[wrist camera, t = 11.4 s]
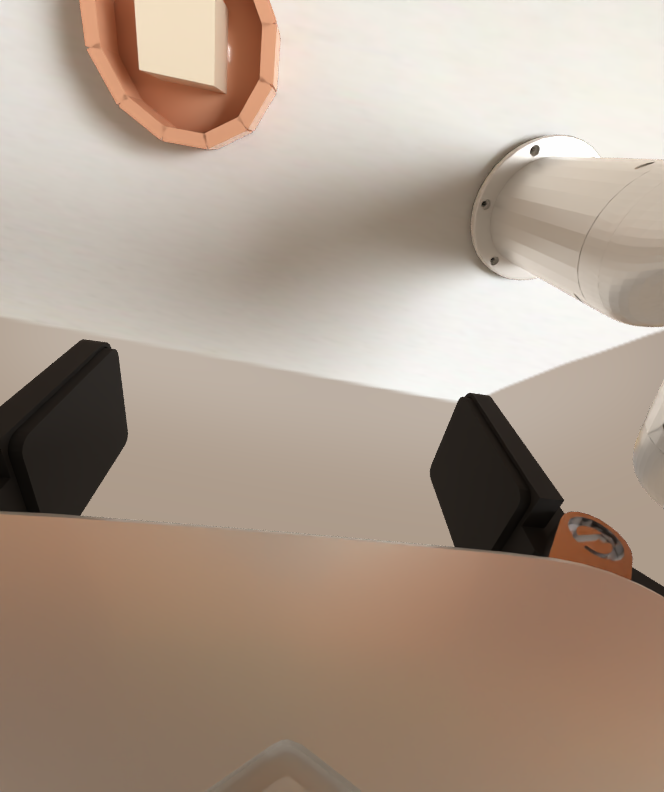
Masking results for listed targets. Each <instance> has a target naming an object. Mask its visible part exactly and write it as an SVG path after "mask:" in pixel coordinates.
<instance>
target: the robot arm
mask: <svg viewBox="0 0 664 792" xmlns="http://www.w3.org/2000/svg"><path fill="white" fill-rule="evenodd" d="M531 148H532V149H533V150H532V153H530V149H531ZM483 201H485V204H484V206H481V205H482V202H483ZM471 236H472V242H473V245H474V248H475V250H476V253H477V255H478V256H479V258H480V259H481V261H482V262H483V263H484V264H485V265H486V266H487V267H488V268H489V269H490V270H492V271H493V272H495V273H496V274H498V275H500V276H503V277H505V278H508V279H514V280H531V279H535V278H540V279H542V280H543V281H545V282H547V283H549V284H550V285H552V286H554V287H556V288H558V289H559V290H561V291H563V292H565V293H566V294H568V295H570V296H572V297H574V298H575V299H577V300H579V301H581V302H582V303H584V304H586V305H588V306H590V307H591V308H593V309H595V310H597V311H598V312H600V313H602V314H604V315H606V316H608V317H610V318H612V319H614V320H616V321H619V322H621V323H625V324H629V325H633V326H641V327H663V326H664V160H663V159H632V158H601V157H600V155H599V154H598V153H597V152H596V150H595V149H594V148H593V147H592V146H591V145H589V144H588V143H586V142H585V141H583V140H581V139H578V138H576V137H573V136H566V135H550V136H544V137H540V138H536V139H532V140H530V141H528V142H526V143H524V144H522V145H520V146H518V147H517V148H515V149H514V150H513V151H511V152H510V153H508V154H507V155H506V156H505V157H504V158H503V159H502V160H501V161H500V162H499V163H498V164H497V165H496V166H495V167H494V168H493V169H492V171H491V172H490V173H489V175H488V176H487V177H486V179H485V181H484V183H483V184H482V186H481V188H480V190H479V192H478V195H477V197H476V200H475V203H474V206H473V211H472V217H471ZM491 258H493V260H492V261H490V260H491ZM127 431H128V430H127V422H126V413H125V405H124V397H123V389H122V381H121V373H120V364H119V356H118V352H117V350H115V349H111V347H110V344H108V343H106V342H99V341H92V340H84V339H83V340H81V341H79V342H78V343H77V344H76V345H74V346H73V347H72V348H71V349H69V350H68V351H67V352H66V353H65V354H63V355H62V356H61V357H60V358H58V359H57V360H56V361H55V362H54V363H52V364H51V365H50V366H49V367H48V368H46V369H45V370H44V371H43V372H42V373H40V374H39V375H38V376H37V377H35V378H34V379H33V380H32V381H31V382H30V383H28V384H27V385H26V386H25V387H23V388H22V389H21V390H20V391H18V392H17V393H16V394H15V395H14V396H12V397H11V398H10V399H9V400H8V401H6V402H5V403H4V404H3V405H2V406H0V792H664V587H663V586H662V585H660V584H658V583H657V582H655V581H653V580H652V579H650V578H649V577H647V576H645V575H644V574H642V573H641V572H639V571H637V570H636V569H634V568H633V567H632V563H633V562H632V561H633V557H632V551H631V549H630V547H629V546H628V544H627V542H626V541H625V540H624V539H623V538H622V536H620V534H619V533H618V532H617V531H615V530H614V529H613V528H612V527H610V526H609V525H608V524H606V523H605V522H603V521H601V520H600V519H598V518H596V517H594V516H591V515H589V514H585V513H582V512H572V511H571V512H567V513H565V514H564V513H563V511H562V509H561V508H560V506H561V504H562V503H563V501H564V499H563V498H562V497H561V495H560V494H559V492H558V491H557V490H556V488H555V487H554V485H553V484H552V482H551V481H550V480H549V478H548V477H547V475H546V474H545V473H544V471H543V470H542V468H541V467H540V466H539V464H538V463H537V461H536V460H535V459H534V457H533V456H532V454H531V453H530V451H529V450H528V449H527V447H526V446H525V444H523V442H522V440H521V439H520V437H519V436H518V435H517V433H516V432H515V430H514V429H513V428H512V426H511V425H510V424H509V422H508V421H507V419H506V418H505V416H504V415H503V414H502V412H501V411H500V409H499V408H498V406H497V405H496V404H495V403H494V401H493V399H492V398H491V397H490V396H488V395H481V394H474V393H468V394H467V395H466V396H465V397H461V398H460V399H459V401H458V403H457V405H456V407H455V410H454V412H453V415H452V417H451V420H450V422H449V424H448V427H447V429H446V431H445V434H444V436H443V439H442V441H441V443H440V446H439V448H438V450H437V453H436V455H435V458H434V460H433V462H432V465H431V469H430V477H431V481H432V484H433V486H434V489H435V492H436V495H437V498H438V500H439V503H440V506H441V509H442V512H443V515H444V518H445V520H446V523H447V526H448V529H449V531H450V535H451V538H452V540H453V543H454V546H455V547H446V546H437V545H426V544H415V543H414V544H413V543H404V542H392V541H381V540H370V539H358V538H348V537H336V536H324V535H311V534H301V533H289V532H277V531H265V530H253V529H241V528H229V527H217V526H205V525H191V524H180V523H167V522H154V521H142V520H129V519H116V518H104V517H91V516H80V515H81V513H82V512H83V510H84V509H85V507H86V506H87V504H88V502H89V501H90V499H91V497H92V496H93V494H94V493H95V491H96V490H97V488H98V487H99V485H100V483H101V482H102V480H103V479H104V477H105V476H106V474H107V473H108V471H109V469H110V468H111V466H112V465H113V463H114V462H115V460H116V458H117V457H118V455H119V454H120V452H121V450H122V449H123V447H124V446H125V444H126V441H127V436H128V432H127ZM633 465H634V471H635V474H636V476H637V478H638V480H639V482H640V484H641V486H642V487H643V489H644V490H645V491H646V492H647V493H648V495H649V496H650V497H651V498H652V499H653V500H654V501H655V502H656V503H657V504H658V505H660V506H661V507H662V508H663V509H664V380H663V382H662V384H661V386H660V388H659V391H658V392H657V395H656V397H655V399H654V401H653V403H652V405H651V408H650V409H649V411H648V413H647V416H646V419H645V421H644V423H643V425H642V427H641V429H640V432H639V434H638V437H637V440H636V443H635V446H634V452H633Z"/></svg>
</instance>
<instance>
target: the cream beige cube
mask: <svg viewBox="0 0 664 792" xmlns="http://www.w3.org/2000/svg"><path fill="white" fill-rule="evenodd" d="M134 4H135V18H136V33H137V47H138V61H139V70H141V71H143V72H145V73H147V74H149V75H152V76H154V77H156V78H158V79H160V80H163V81H167V82H172V83H177V84H181V85H186V86H191V87H195V88H200V89H205V90H210V91H214V92H219V93H224V94H227V61H228V16H229V10H228V8H227V7H226V5H225V3H224V1H223V0H134Z"/></svg>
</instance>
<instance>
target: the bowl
mask: <svg viewBox="0 0 664 792" xmlns="http://www.w3.org/2000/svg"><path fill="white" fill-rule="evenodd" d="M223 1H224V3H225V5H226V7H227V8H228V10H229V16H228V61H227V94H224V93H219V92H214V91H210V90H205V89H200V88H195V87H191V86H186V85H181V84H177V83H172V82H167V81H163V80H160V79H158V78H156V77H154V76H152V75H149V74H147V73H145V72H143V71H141V70H139V61H138V47H137V33H136V18H135V4H134V0H79V2H80V10H81V17H82V25H83V32H84V40H85V46H86V47H89V48H88V49H87V51H88V53H89V55H90V57H91V59H92V60H93V62H94V64H95V66H96V68H97V69H98V71H99V73H100V75H101V77H102V78H103V80H104V82H105V84H106V86H107V88H108V89H109V91H110V93H111V95H112V97H113V98H114V100H115V102H116V104H117V105H119V107H120V108H121V109H122V110H123V111H125V112H126V113H127V114H128V115H130V116H131V117H132V118H133V119H135V120H136V121H137V122H138V123H140V124H141V125H142V126H143V127H145V128H146V129H147V130H148V131H150V132H151V133H152V134H153V135H155V136H156V137H157V138H158V139H160V140H163V141H164V142H169V143H175V144H180V145H186V146H192V147H197V148H203V149H219V148H221V147H223V146H226V145H228V144H230V143H232V142H234V141H236V140H238V139H240V138H242V137H244V136H246V135H249V134H251V133H253V132H252V131H255V129H256V127H257V125H258V124H259V122H260V120H261V119H262V117H263V115H264V114H265V112H266V110H267V108H268V107H269V105H270V103H271V102H272V100H273V98H274V97H275V95H276V93H275V91H277V82H278V67H279V52H280V33H279V29H278V25H277V21H276V18H275V15H274V13H273V10H272V7H271V4H270V1H269V0H223Z"/></svg>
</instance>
